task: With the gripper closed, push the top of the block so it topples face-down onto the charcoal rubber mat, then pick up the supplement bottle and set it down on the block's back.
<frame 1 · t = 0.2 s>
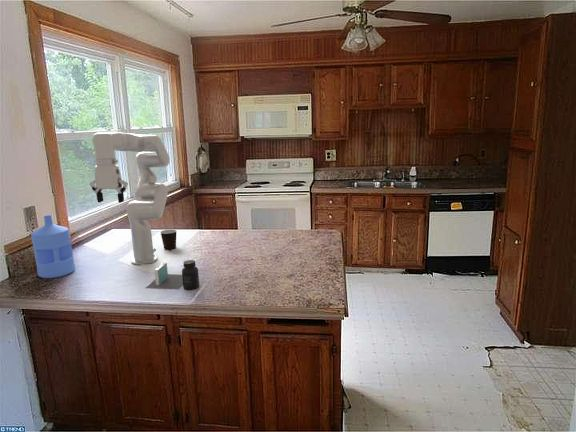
hand: (110, 201, 172), 36 cm above the countertop, tool pointing down, fingers open, 9 cm apart
block: (162, 281, 176), point 1 cm above the countertop, touching mat
supplement bottle: (191, 288, 170), on the countertop
water jug: (57, 273, 190), on the countertop
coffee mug: (171, 247, 225), on the countertop
mat: (169, 282, 176), on the countertop
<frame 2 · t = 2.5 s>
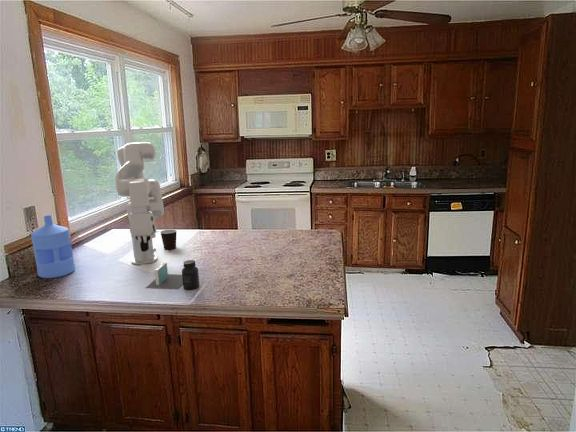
hand: (145, 250, 173), 15 cm above the countertop, tool pointing down, fingers closed
nothing on the countertop moved.
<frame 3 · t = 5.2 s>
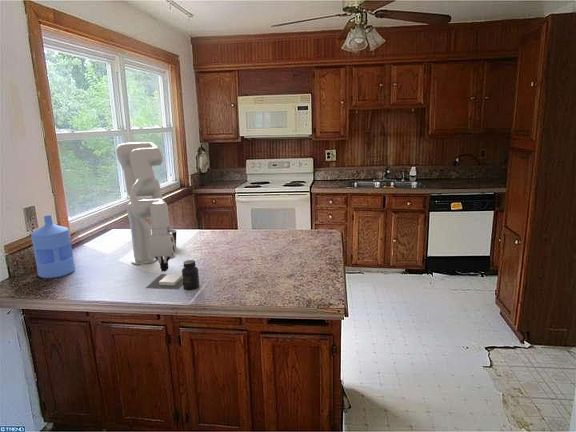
hand: (164, 270, 175), 6 cm above the countertop, tool pointing down, fingers closed
block: (163, 279, 176), point 1 cm above the countertop, tilted 90°, touching mat
everything else where it was.
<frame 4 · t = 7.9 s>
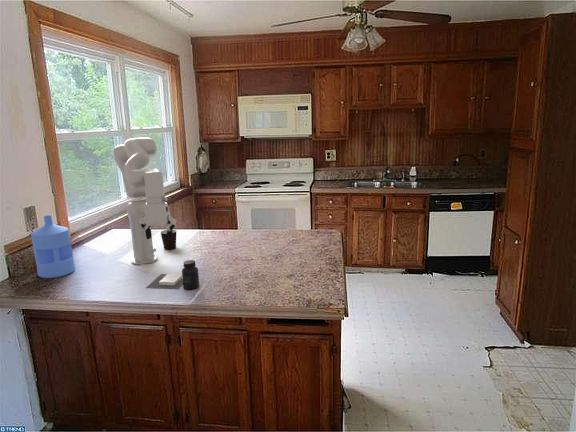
hand: (159, 238, 171), 20 cm above the countertop, tool pointing down, fingers open, 9 cm apart
nothing on the countertop moved.
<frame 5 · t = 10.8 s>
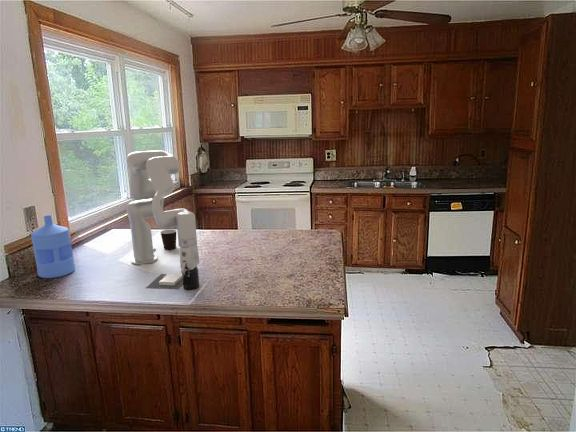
hand: (190, 281, 169), 3 cm above the countertop, tool pointing down, fingers closed on supplement bottle, 6 cm apart
supplement bottle: (191, 288, 170), on the countertop, touching gripper
everything else where it was.
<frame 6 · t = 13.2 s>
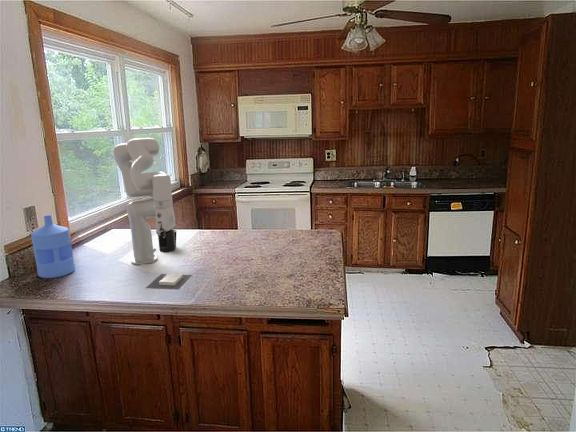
hand: (167, 243, 172), 18 cm above the countertop, tool pointing down, fingers closed on supplement bottle, 6 cm apart
supplement bottle: (167, 250, 172), point 15 cm above the countertop, touching gripper
everything else where it was.
when the fingers open (7 cm above the countertop, at t = 16.0 s): supplement bottle drops 1 cm, resting on block.
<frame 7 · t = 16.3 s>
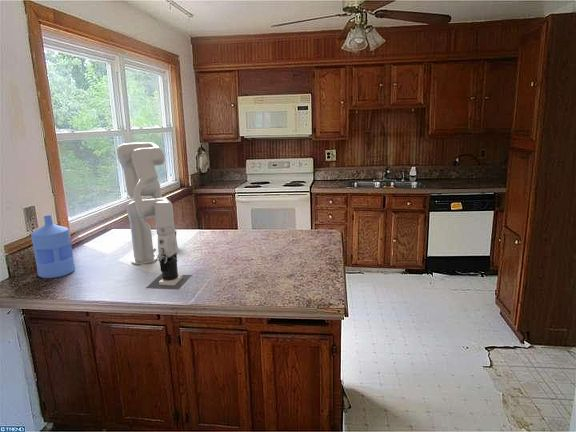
hand: (169, 267, 174), 7 cm above the countertop, tool pointing down, fingers open, 9 cm apart
block: (163, 279, 176), point 1 cm above the countertop, tilted 90°, touching mat, supplement bottle
supplement bottle: (170, 278, 176), point 2 cm above the countertop, touching block
everything else where it was.
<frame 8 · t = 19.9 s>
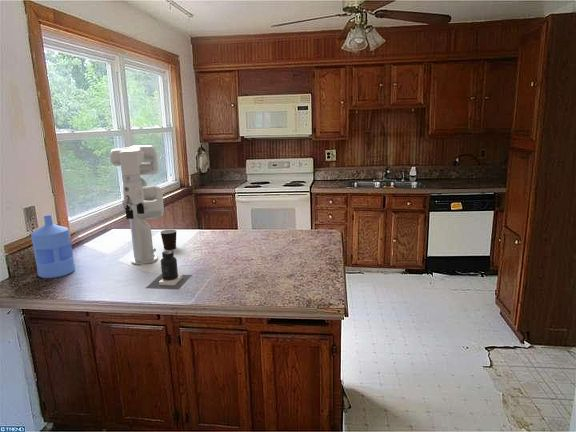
hand: (135, 216, 179), 28 cm above the countertop, tool pointing down, fingers open, 9 cm apart
nothing on the countertop moved.
at the end: block tilted 90°; supplement bottle point 2.0 cm above the countertop; supplement bottle 3.0 cm from the block (horizontally) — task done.
